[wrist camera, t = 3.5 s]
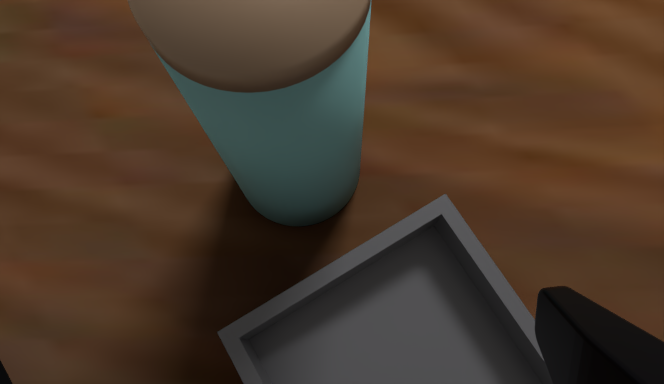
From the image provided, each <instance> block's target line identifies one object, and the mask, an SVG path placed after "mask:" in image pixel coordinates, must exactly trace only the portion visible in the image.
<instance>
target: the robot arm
mask: <svg viewBox="0 0 664 384" xmlns="http://www.w3.org/2000/svg"><path fill="white" fill-rule="evenodd" d="M535 336H536V340H537V343H538V345H539V348H540V351H541V353H542V356H543V359H544V362H545V364H546V367H547V370H548V372H549V375H550V378H551V380H552V383H553V384H664V342H663V341H661V340H660V339H658V338H656V337H654V336H653V335H651V334H649V333H647V332H646V331H644V330H642V329H640V328H639V327H637V326H635V325H633V324H632V323H630V322H628V321H626V320H625V319H623V318H621V317H619V316H618V315H616V314H614V313H613V312H611V311H609V310H607V309H606V308H604V307H602V306H600V305H599V304H597V303H595V302H593V301H592V300H590V299H588V298H586V297H585V296H583V295H581V294H579V293H578V292H576V291H574V290H572V289H571V288H569V287H566V286H557V287H547V288H543V289H541V290H540V291H539V294H538V299H537V308H536V318H535ZM0 384H12V382H11V380H10V378H9V376H8V374H7V372H6V370H5V368H4V366H3V364H2V363H1V361H0Z"/></svg>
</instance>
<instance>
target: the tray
mask: <svg viewBox="0 0 664 384" xmlns="http://www.w3.org/2000/svg"><path fill="white" fill-rule="evenodd" d="M217 333H218V335H219V337H220V339H221V341H222V343H223V345H224V346H225V348H226V350H227V352H228V354H229V356H230V358H231V360H232V362H233V364H234V366H235V368H236V370H237V372H238V374H239V375H240V377H241V379H242V381H243V383H244V384H553V383H552V380H551V378H550V375H549V372H548V370H547V367H546V364H545V362H544V359H543V356H542V353H541V351H540V348H539V345H538V343H537V340H536V336H535V320H534V318H533V317H532V315H531V314H530V313H529V311H528V310H527V308H526V307H525V306H524V304H523V303H522V301H521V300H520V298H519V297H518V296H517V294H516V293H515V291H514V290H513V289H512V287H511V286H510V284H509V283H508V281H507V280H506V279H505V277H504V276H503V274H502V273H501V272H500V270H499V269H498V267H497V266H496V265H495V263H494V262H493V260H492V259H491V257H490V256H489V255H488V253H487V252H486V250H485V249H484V248H483V246H482V245H481V243H480V242H479V240H478V239H477V238H476V236H475V235H474V233H473V232H472V231H471V229H470V228H469V226H468V225H467V223H466V222H465V221H464V219H463V218H462V216H461V215H460V214H459V212H458V211H457V209H456V208H455V206H454V205H453V204H452V202H451V201H450V199H449V198H448V197H447V195H446V194H444V195H443V196H441V197H439V198H438V199H436V200H434V201H433V202H431V203H429V204H428V205H426V206H424V207H423V208H421V209H419V210H418V211H416V212H415V213H413V214H411V215H410V216H408V217H406V218H405V219H403V220H401V221H400V222H398V223H396V224H395V225H393V226H391V227H390V228H388V229H386V230H385V231H383V232H381V233H380V234H378V235H377V236H375V237H373V238H372V239H370V240H368V241H367V242H365V243H363V244H362V245H360V246H358V247H357V248H355V249H353V250H352V251H350V252H348V253H347V254H345V255H344V256H342V257H340V258H339V259H337V260H335V261H334V262H332V263H330V264H329V265H327V266H325V267H324V268H322V269H320V270H319V271H317V272H315V273H314V274H312V275H311V276H309V277H307V278H306V279H304V280H302V281H301V282H299V283H297V284H296V285H294V286H292V287H291V288H289V289H287V290H286V291H284V292H282V293H281V294H279V295H277V296H276V297H274V298H273V299H271V300H269V301H268V302H266V303H264V304H263V305H261V306H259V307H258V308H256V309H254V310H253V311H251V312H249V313H248V314H246V315H244V316H243V317H241V318H240V319H238V320H236V321H235V322H233V323H231V324H230V325H228V326H226V327H225V328H223V329H221V330H220V331H218V332H217Z"/></svg>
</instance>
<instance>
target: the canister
mask: <svg viewBox="0 0 664 384" xmlns="http://www.w3.org/2000/svg"><path fill="white" fill-rule="evenodd" d="M128 3H129V6H130V9H131V11H132V13H133V15H134V18H135V20H136V21H137V23H138V25H139V26H140V28H141V29H142V31H143V33H144V34H145V36H146V38H147V39H148V41H149V42H150V44H151V46H152V47H153V49H154V50H155V52H156V54H157V55H158V57H159V58H160V60H161V62H162V63H163V65H164V66H165V68H166V70H167V71H168V73H169V74H170V76H171V78H172V79H173V81H174V82H175V84H176V86H177V87H178V89H179V91H180V92H181V94H182V95H183V97H184V99H185V100H186V102H187V103H188V105H189V107H190V108H191V110H192V111H193V113H194V115H195V116H196V118H197V119H198V121H199V123H200V124H201V126H202V127H203V129H204V131H205V132H206V134H207V135H208V137H209V139H210V140H211V142H212V144H213V145H214V147H215V148H216V150H217V152H218V153H219V155H220V156H221V158H222V160H223V161H224V163H225V164H226V166H227V168H228V169H229V171H230V172H231V174H232V176H233V177H234V179H235V180H236V182H237V184H238V185H239V187H240V188H241V190H242V192H243V193H244V195H245V197H246V198H247V200H248V201H249V203H250V204H251V205H252V206H253V207H254V209H255V210H256V211H258V212H259V213H260V214H261V215H263V216H264V217H266V218H267V219H269V220H271V221H274V222H276V223H279V224H282V225H288V226H308V225H313V224H317V223H320V222H322V221H325V220H327V219H329V218H331V217H332V216H334V215H335V214H336V213H338V212H339V211H340V210H341V209H342V208H343V207H344V206H345V205H346V204H347V203H348V201H349V200H350V198H351V197H352V195H353V193H354V191H355V189H356V187H357V184H358V180H359V174H360V161H361V146H362V131H363V116H364V102H365V87H366V72H367V57H368V43H369V28H370V13H371V0H128Z"/></svg>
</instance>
